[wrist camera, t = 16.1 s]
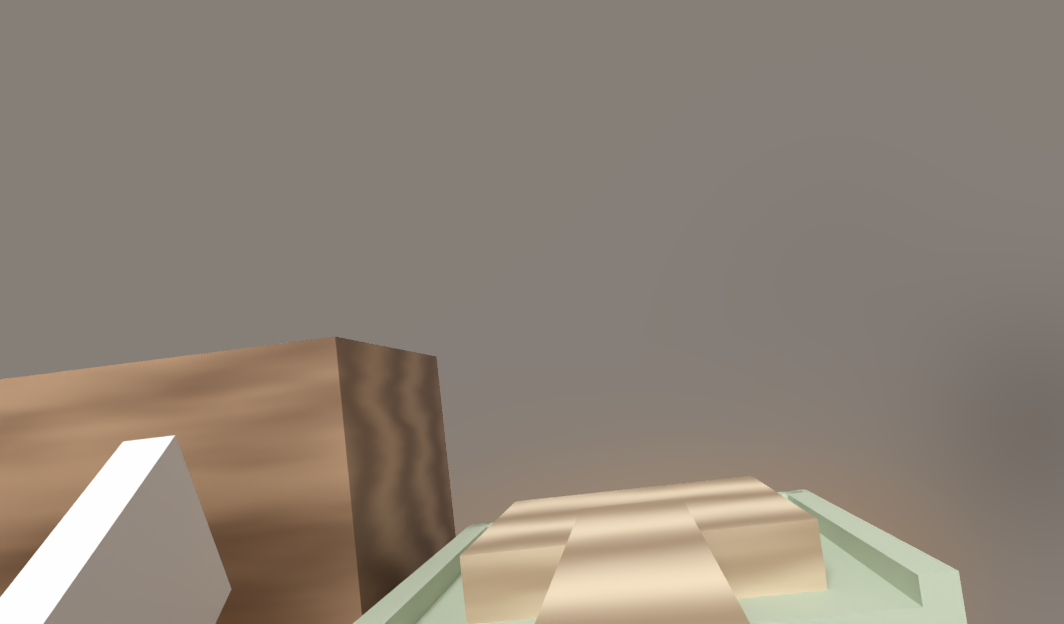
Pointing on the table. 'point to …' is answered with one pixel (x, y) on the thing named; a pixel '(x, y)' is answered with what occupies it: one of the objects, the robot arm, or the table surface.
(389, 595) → the tray
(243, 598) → the tall crate
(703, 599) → the cream cross-shaped block
